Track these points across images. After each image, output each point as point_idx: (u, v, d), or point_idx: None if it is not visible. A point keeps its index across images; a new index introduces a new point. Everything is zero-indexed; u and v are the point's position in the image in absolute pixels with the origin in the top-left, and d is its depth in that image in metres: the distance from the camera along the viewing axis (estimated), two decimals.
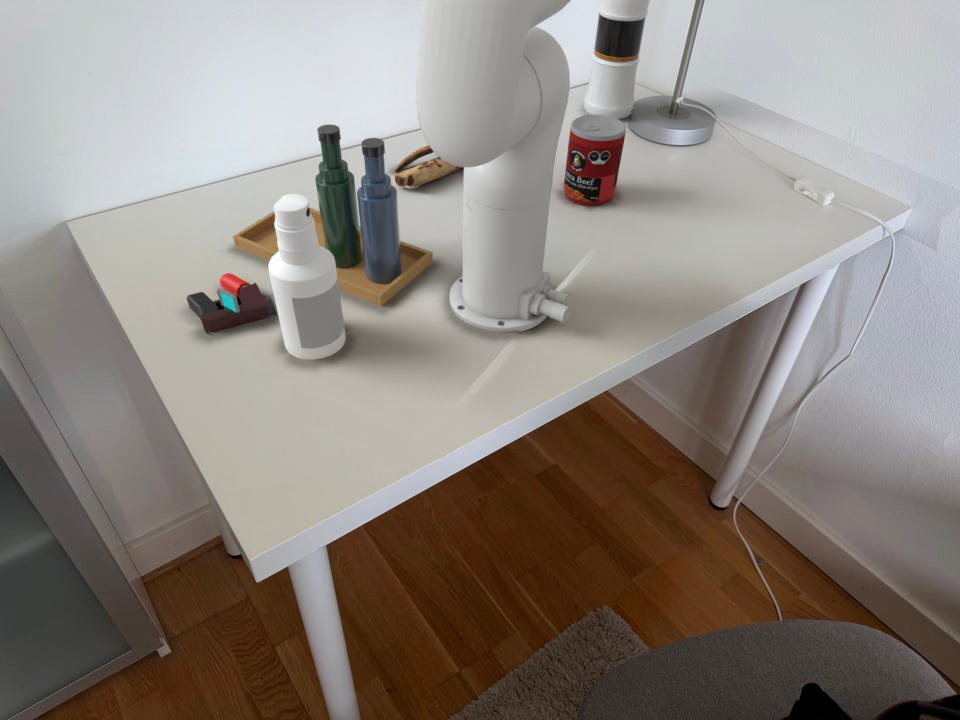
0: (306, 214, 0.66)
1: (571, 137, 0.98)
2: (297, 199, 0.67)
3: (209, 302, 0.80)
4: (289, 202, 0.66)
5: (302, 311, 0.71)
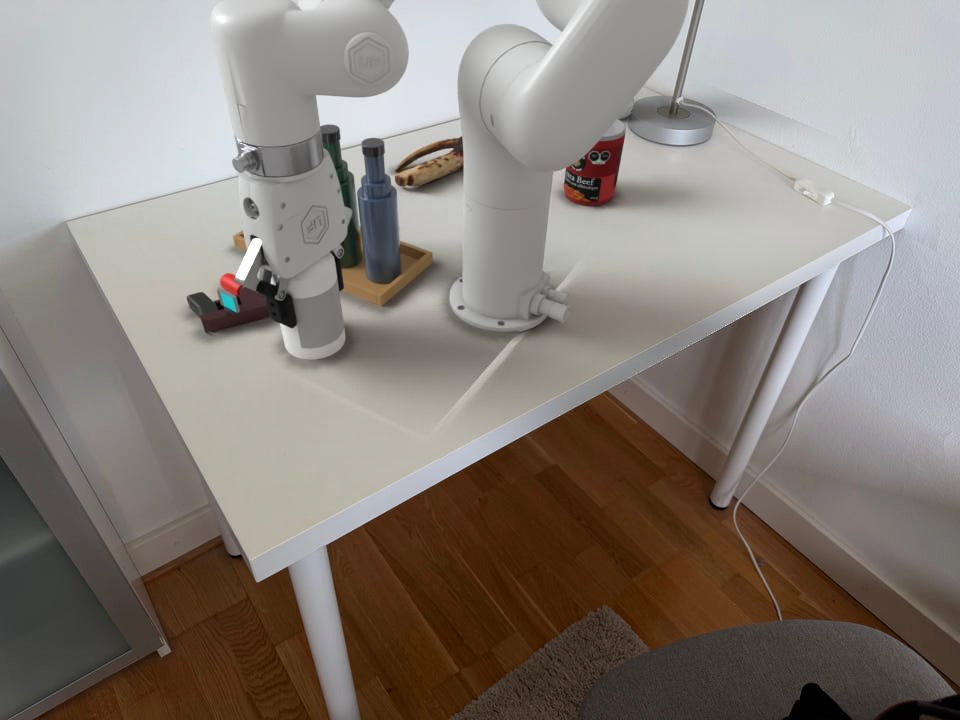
0: None
1: None
2: None
3: (209, 302, 0.80)
4: None
5: (302, 311, 0.71)
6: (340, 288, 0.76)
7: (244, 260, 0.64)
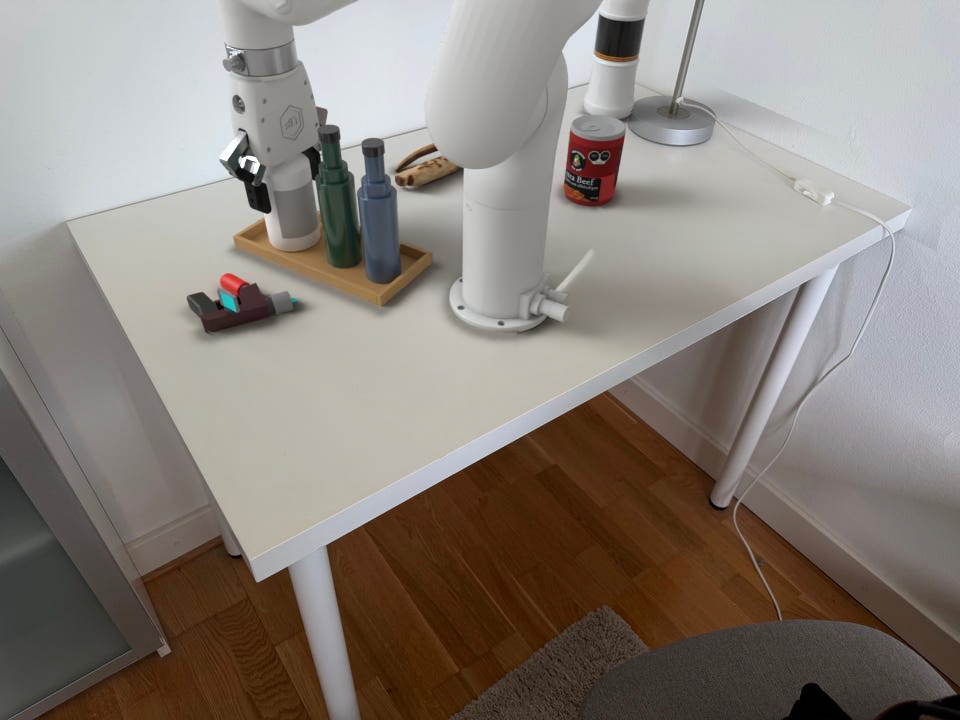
0: None
1: (571, 137, 0.98)
2: None
3: (209, 302, 0.80)
4: None
5: (282, 203, 0.86)
6: None
7: (229, 144, 0.78)
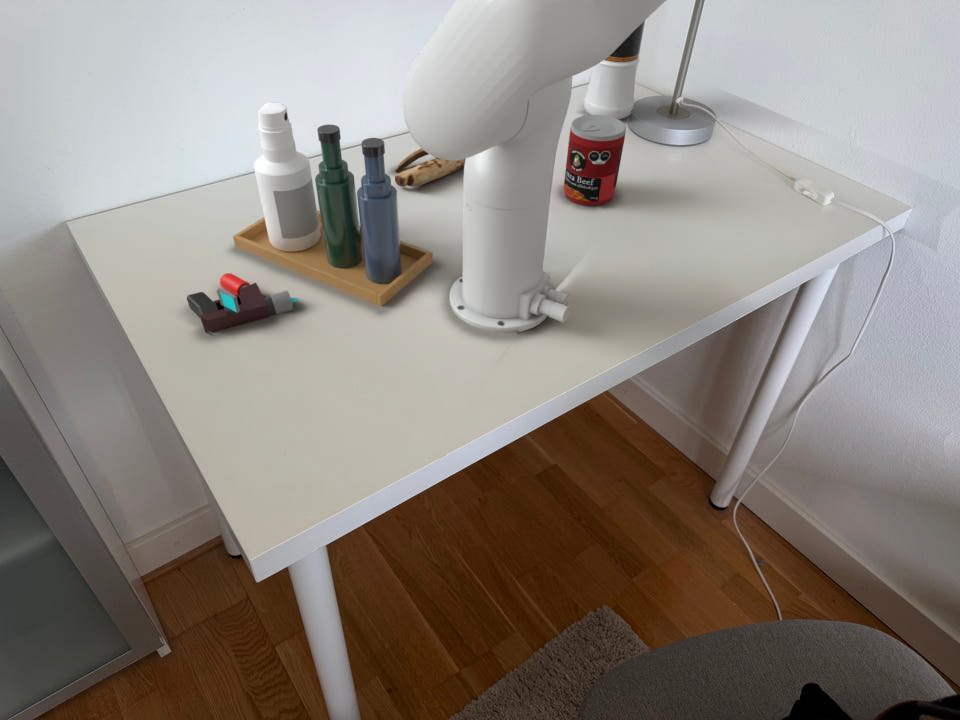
0: (284, 118, 0.81)
1: (571, 137, 0.98)
2: (277, 106, 0.81)
3: (209, 302, 0.80)
4: (270, 108, 0.81)
5: (282, 203, 0.86)
6: None
7: None
